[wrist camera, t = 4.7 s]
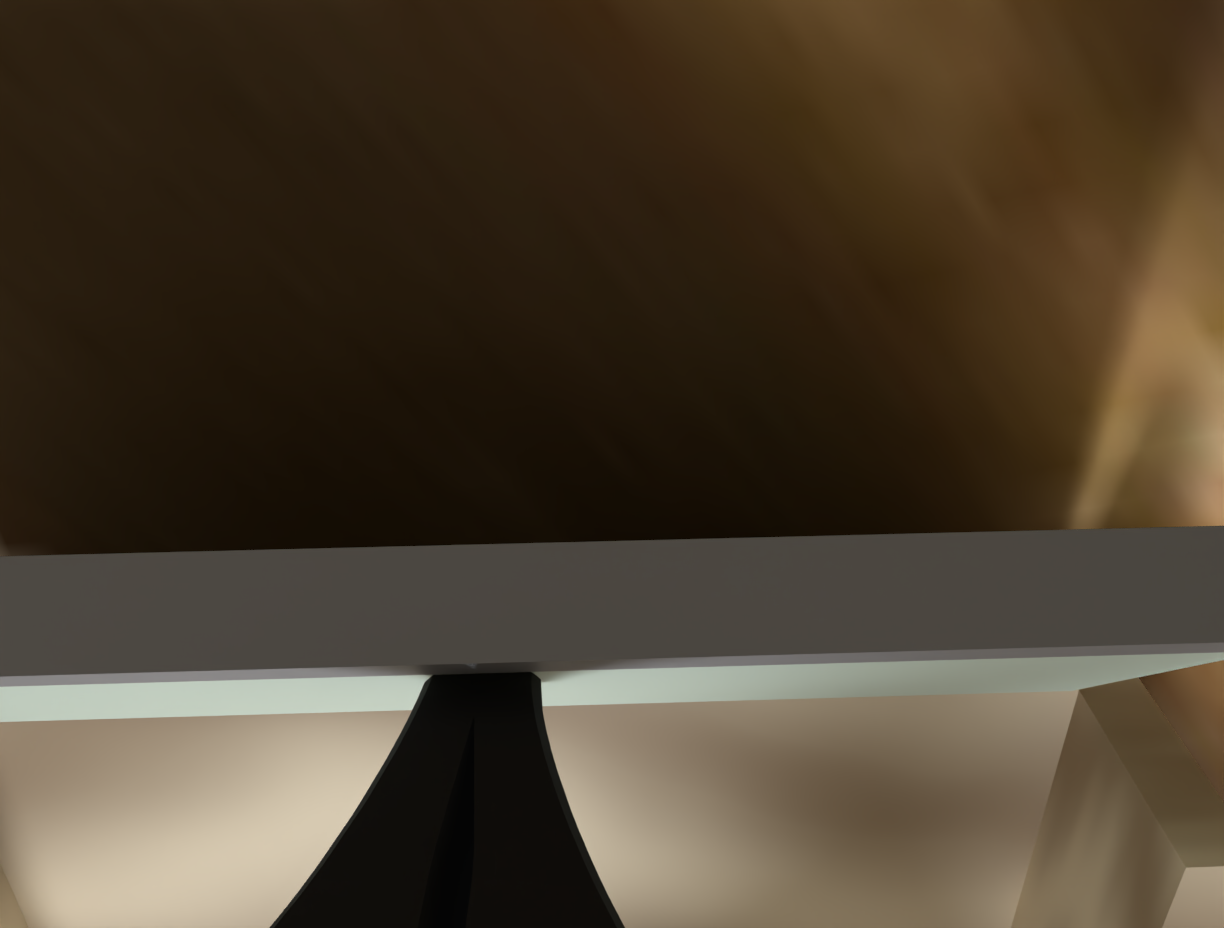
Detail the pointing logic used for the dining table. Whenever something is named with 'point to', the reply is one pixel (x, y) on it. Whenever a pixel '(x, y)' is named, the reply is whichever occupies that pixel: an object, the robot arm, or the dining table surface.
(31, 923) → the cart bed
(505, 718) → the robot arm
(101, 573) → the panel
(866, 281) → the dining table surface
